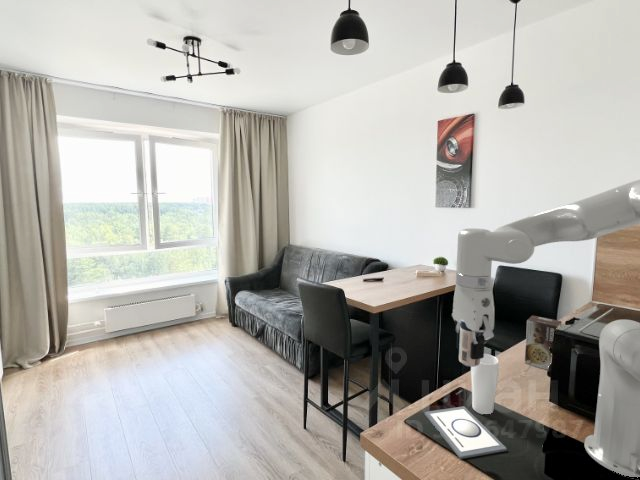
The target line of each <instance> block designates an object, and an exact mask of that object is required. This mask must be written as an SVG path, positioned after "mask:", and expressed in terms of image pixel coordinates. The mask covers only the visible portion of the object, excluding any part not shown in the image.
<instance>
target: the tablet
mask: <svg viewBox="0 0 640 480" xmlns="http://www.w3.org/2000/svg"><path fill="white" fill-rule="evenodd" d="M423 414H424V415H425V417H426V418H427V419H428V421H429V422H430V423H431V424H432V425H433V427H434V426H435V427H434V428H435V429H436V431H437V432H438V431H439V432H440V433H439V432H438V433H439V434H440V435H441V437H442V438H443V439H444V440H445V442H446V443H447V444H448V446H449V447H450V448H451V449H452V451H453V452H454V453H455V454H456V455H457V457H458V458H459V459H460V460H463V459H469V458H474V457H478V456H479V457H480V456H485V455H486V456H487V455H491V454H496V453H497V454H498V453H501V452H507V451H508V449H507V447H506V446H505V445H504V444H503V443H502V442H501V441H500V440H499V439H498V437H496V436H495V435H494V434H493V433H492V432H491V431H490V430H489V429H488V428H487V427H486V426H485V425H484V424H482V422H481V421H480V420H479V419H478V418H477V417H476V416H475V415H473V414H472V412H470V410H469V409H468V408H466V406H464V405H462V406H458V407H450V408H443V409H436V410H430V411H424V412H423Z"/></svg>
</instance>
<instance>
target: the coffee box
mask: <svg viewBox="0 0 640 480" xmlns="http://www.w3.org/2000/svg"><path fill="white" fill-rule="evenodd" d="M559 326H561V327H562V321H561V320H557V319H552V318H548V317H542V316H538V315H534V314H533V315H531V316H530V317H529V318H528V319H527V320H526V331H525V332H526V334H525V335H526V336H525V337H526V338H525V351H524V352H525V353H524V354H525V355H524V364H526V365H530V366H532V367H536V368H538V369H539V368H540V369H543V370H546V371H548V370H547V369H548V366H549V365H550V363H551V358H552V355H551V353H550V352H549V347H550V344H551V342H552V340H553V333H554V330H555V329H556V328H558V327H559Z"/></svg>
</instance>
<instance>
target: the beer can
mask: <svg viewBox="0 0 640 480" xmlns="http://www.w3.org/2000/svg"><path fill="white" fill-rule="evenodd" d="M465 323H466V322H465V321H464V320H463V319H462V320H461V323H460V342H459V349H458V361H459V362H460V363H461V364H462V365H464V366H466V367H470V368H471V367H474V366H478V365H479V364H480V359H471V358H470V352H471V343H472V342H473V338H472V330H471V329H469V328H467V326H466V324H465ZM479 329H480V327H479ZM480 335H481V334H480V333H477V337H479V336H480Z"/></svg>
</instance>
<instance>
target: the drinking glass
mask: <svg viewBox="0 0 640 480" xmlns="http://www.w3.org/2000/svg"><path fill="white" fill-rule="evenodd" d="M499 369H500V361H499V359H498V358H497V357H495V356H494V355H491V354H488V353H484V357H483V358H481V359H480V364H479V365H478V366H474V367H470V379H471V380H470V381H471V401H472V402H471V406H472V409H473V410H474V411H475V412H476V413H477V414H480V415H483V414H490V415H492V414H493V412H494V405H495V398H496V393H497V387H498V379H499ZM491 413H492V414H491Z"/></svg>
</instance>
